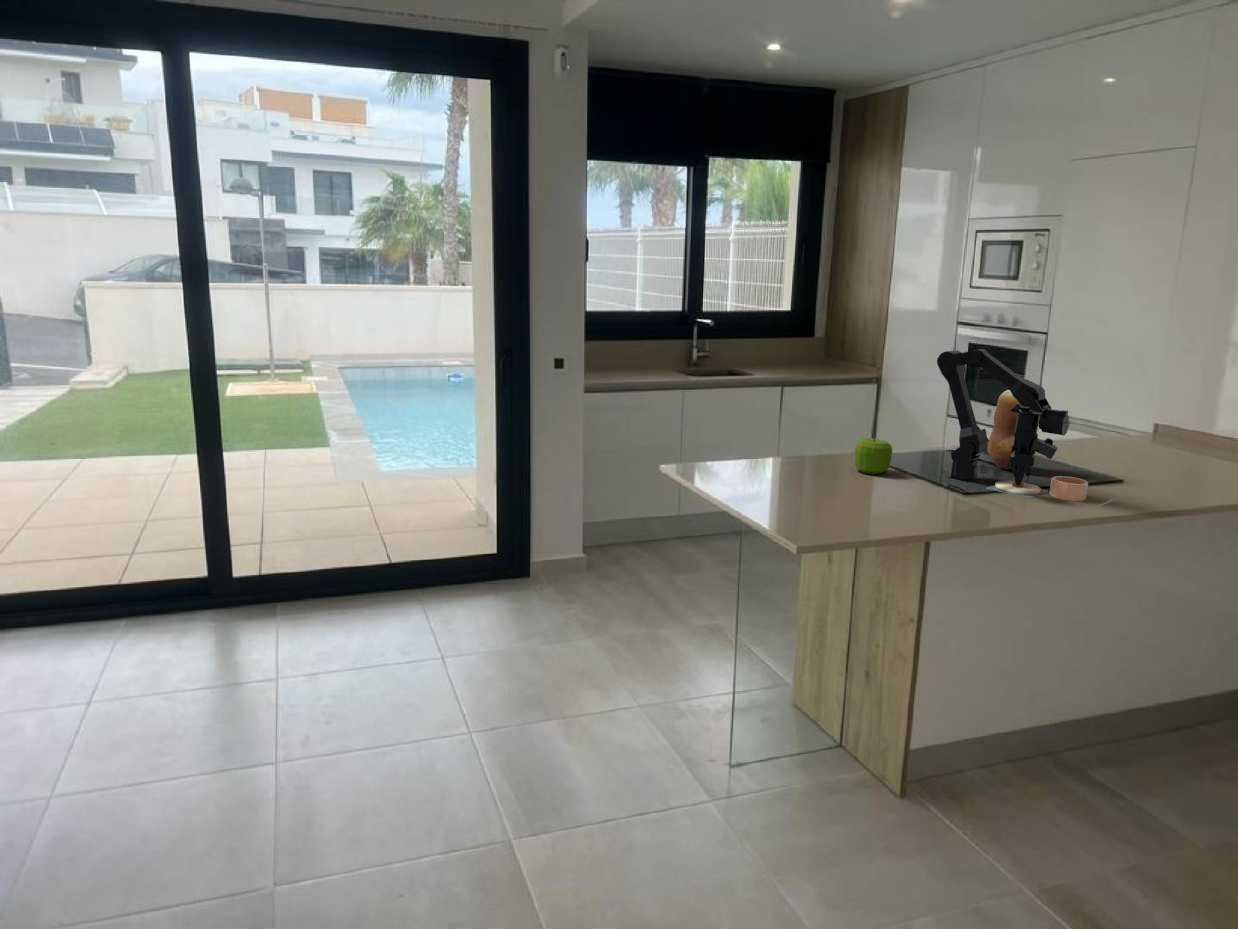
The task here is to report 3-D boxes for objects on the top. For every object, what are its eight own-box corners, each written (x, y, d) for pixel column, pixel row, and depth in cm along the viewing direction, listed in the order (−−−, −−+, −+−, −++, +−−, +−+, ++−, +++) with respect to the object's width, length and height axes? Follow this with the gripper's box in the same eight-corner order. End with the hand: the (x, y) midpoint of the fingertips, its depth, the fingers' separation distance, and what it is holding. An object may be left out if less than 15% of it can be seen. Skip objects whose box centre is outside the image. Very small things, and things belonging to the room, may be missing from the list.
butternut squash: (1036, 475, 275) (1048, 395, 269) (993, 473, 275) (1004, 393, 269) (1018, 464, 288) (1029, 388, 282) (976, 462, 289) (987, 386, 282)
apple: (897, 475, 269) (901, 440, 266) (866, 477, 265) (870, 441, 262) (875, 466, 279) (879, 432, 276) (845, 468, 275) (849, 433, 273)
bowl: (1044, 496, 251) (1047, 479, 250) (1057, 491, 257) (1059, 474, 256) (1077, 503, 245) (1080, 486, 243) (1089, 498, 251) (1092, 481, 249)
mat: (985, 489, 256) (985, 488, 256) (1004, 482, 265) (1005, 481, 265) (1030, 499, 247) (1030, 498, 247) (1049, 492, 256) (1049, 490, 256)
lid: (987, 488, 256) (990, 471, 255) (1005, 481, 264) (1008, 465, 263) (1029, 497, 248) (1032, 480, 246) (1047, 490, 256) (1049, 474, 254)
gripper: (1058, 438, 240) (1049, 494, 244) (1057, 427, 256) (1049, 479, 260) (1013, 433, 244) (1005, 488, 248) (1015, 422, 261) (1008, 473, 265)
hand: (1018, 482), depth 255 cm, fingers open, 7 cm apart
